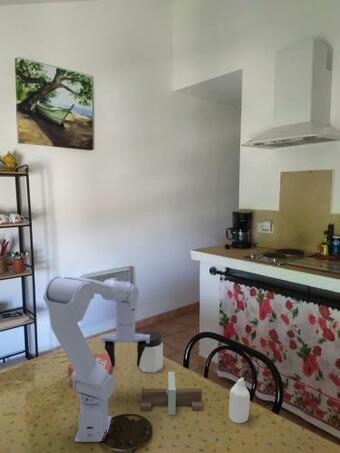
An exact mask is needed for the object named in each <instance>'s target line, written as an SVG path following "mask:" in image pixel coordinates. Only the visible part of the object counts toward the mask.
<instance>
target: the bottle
mask: <svg viewBox="0 0 340 453" xmlns="http://www.w3.org/2000/svg"><path fill="white" fill-rule="evenodd" d="M244 379H245V378H244V377H240V378H239V379H238V380H237V381H236V382H235V384H234V385H233V386H232V387H231V389H230V391H229V399H228V400H229V404H228V405H229V406H228V417H229V419H230V420H231V421H232V422H233V423H236V424H243V423H246V422H247V421H249V414H250V402H251V401H250V398H251V395H250V392H249V390H248V388H247V386H246V385H245V384H246V383H245V380H244Z"/></svg>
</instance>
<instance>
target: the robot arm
mask: <svg viewBox="0 0 340 453" xmlns="http://www.w3.org/2000/svg"><path fill="white" fill-rule="evenodd" d="M96 294H97V295H100V296H101V298H102V299H104V300H106V301H113V302H116V303H115V324H116V326H115V327H116V328H115V331H116V332H114V333H108V334H102V335H101V338H100V340H101V341H100V342H101V344H104V349H105V351H106V354H108V355H109V357H110V360H111V364H112V366H114V367H115V364H116V356H115V350H116V349H115V346H116V343H137V345H136V346H137V347H136V350H137V351H136V353H137V359H136V360H137V361H136V367H138V366H139V365H140V359H141V356H142V353H143V351H144V349H145V347H146V343H149V342H150V335H147V334H141V333H139V332H136V308H137V305H138V300H139V299H138V298H139V295H140V291H139V288H138V286H137V285H136V284H135V283H130V282H126V281H125V280H120V281H119V280H118V278H116V277H110V278H108V279H105V280H104V281H100V280H96V279H92V278H86V277H74V276H73V277H72V276H64V277H61V276H54V277H52V278H50V280H49V281H48V283H47V284H46V286H45V290H44V293H43V297H42V298H43V300H44V303H45V304H46V306H47V309H48V313H49V322H50V327H51V328H50V329H51V331H52V332H53V334H54V336H55V337H56V340H57V341H58V343H59V345H60V347H61V348H62V350H63V353H65V355H66V357H67V359H68V361H69V363H70V364H71V365H72V367H73V369H74V371H73V373H72V376H71V375H70V376H71V378H72V380H73V387H72V389H73V391H74V392H76V393H77V397H78V398H79V409H80V411H79V412H80V413H79V415H78V419H77V428H78V429H77V433H76V434H75V438H74V442H75V443H91V442H93V443H94V442H95V443H98V442H100V441H102V438H103V435H104V432H106V430H107V432H108V433H109V431H110V426H111V422H112V416H111V415H109V398H110V397H112V394H113V392H114V390H115V378H114V376H113V375H112V374H111V375H110V374H109V373H108V371H107V370H105V369H104V368H103V367H101V366H100V365H98V364H97V362H96V360H95V358H94V356H93V354H94V353H93V352H92V350H91V349H90V346H89V343H88V342H87V340H86V338H85V335H84V334H83V332H82V330H81V327H80V325H79V322H81V321H83V319H84V317H85V314H86V312H87V310H88V307H89V306H90V304H91V302H92V299H94V298H95V295H96ZM110 421H111V422H110ZM108 430H109V431H108ZM100 443H101V442H100Z"/></svg>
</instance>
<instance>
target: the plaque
mask: <svg viewBox="0 0 340 453" xmlns="http://www.w3.org/2000/svg"><path fill="white" fill-rule="evenodd" d="M92 354H93V356H94V358H95V360H96V362H97V364H98V365H100V366H101V367H103V368H104V369H105V370H107V371H108V373H109V374H110V375H112V372H113V370H114V369H113V368H114V367H115V365H114V366H112V364H111V360H110V357H109V355H108V353H92ZM67 371H68V372H67V373H68V375H69V376H70V378H69V380H70V387H72V388H73V380H72V378H71V376H72V373H73V371H74V369H73V367H72V365H71V363H70V364H68V366H67Z"/></svg>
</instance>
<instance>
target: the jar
mask: <svg viewBox="0 0 340 453" xmlns="http://www.w3.org/2000/svg"><path fill="white" fill-rule="evenodd" d="M140 334H147V335H150V342H149V343H146V347H145V349H144V351H143V353H142V356H141V359H140V365H139V366H137V367H138V368H139V369H140V370H141V372H142V373H147V374H148V373H150V374H151V373H152V374H156V373H158V372H159V371H160V370H162V369H163V367H164V365H163V364H164V354H163V352H164V343H163V341H162V339H163V337H162V336H163V335H162V333H160V332H158V331H154V330H149V331H143V332H141V333H140Z"/></svg>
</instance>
